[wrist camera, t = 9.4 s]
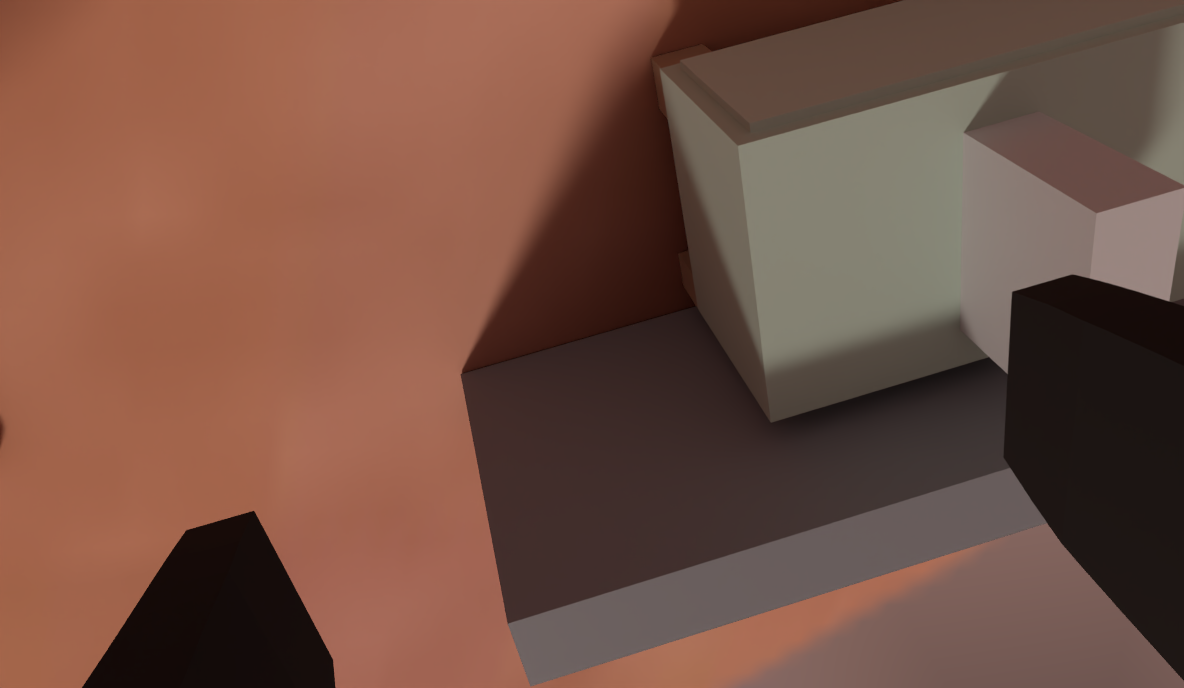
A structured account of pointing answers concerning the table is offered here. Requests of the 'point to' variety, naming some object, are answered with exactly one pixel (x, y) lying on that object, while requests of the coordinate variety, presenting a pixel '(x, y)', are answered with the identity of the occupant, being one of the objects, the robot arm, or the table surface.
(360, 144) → the table surface
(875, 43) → the grey block
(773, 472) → the wall board
